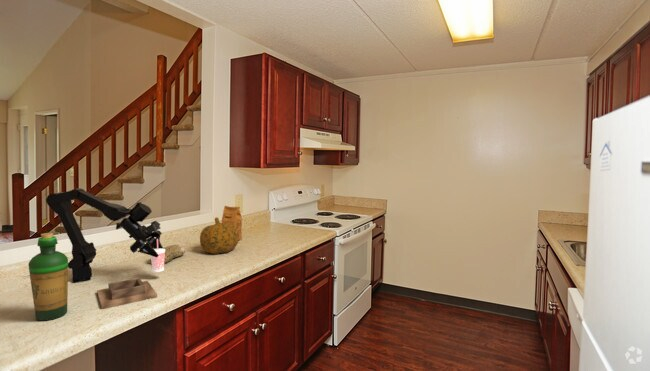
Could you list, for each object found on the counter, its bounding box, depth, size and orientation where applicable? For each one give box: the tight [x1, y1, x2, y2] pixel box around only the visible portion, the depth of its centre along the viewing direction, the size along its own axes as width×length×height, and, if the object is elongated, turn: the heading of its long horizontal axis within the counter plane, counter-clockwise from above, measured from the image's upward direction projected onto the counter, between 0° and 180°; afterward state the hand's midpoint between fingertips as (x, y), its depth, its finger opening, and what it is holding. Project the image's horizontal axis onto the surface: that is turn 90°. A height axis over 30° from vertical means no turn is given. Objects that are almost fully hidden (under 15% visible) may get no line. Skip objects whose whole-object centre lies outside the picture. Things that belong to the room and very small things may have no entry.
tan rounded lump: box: [163, 244, 186, 264], centre depth 183 cm, size 13×8×20 cm
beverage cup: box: [150, 239, 165, 273], centre depth 155 cm, size 6×6×14 cm
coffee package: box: [221, 205, 243, 241], centre depth 227 cm, size 10×12×22 cm
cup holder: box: [96, 277, 158, 310], centre depth 137 cm, size 18×18×4 cm
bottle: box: [27, 232, 69, 321], centre depth 119 cm, size 11×11×28 cm
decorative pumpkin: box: [199, 216, 240, 255], centre depth 200 cm, size 20×21×20 cm
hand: (161, 254), depth 155 cm, fingers closed on beverage cup, 6 cm apart
